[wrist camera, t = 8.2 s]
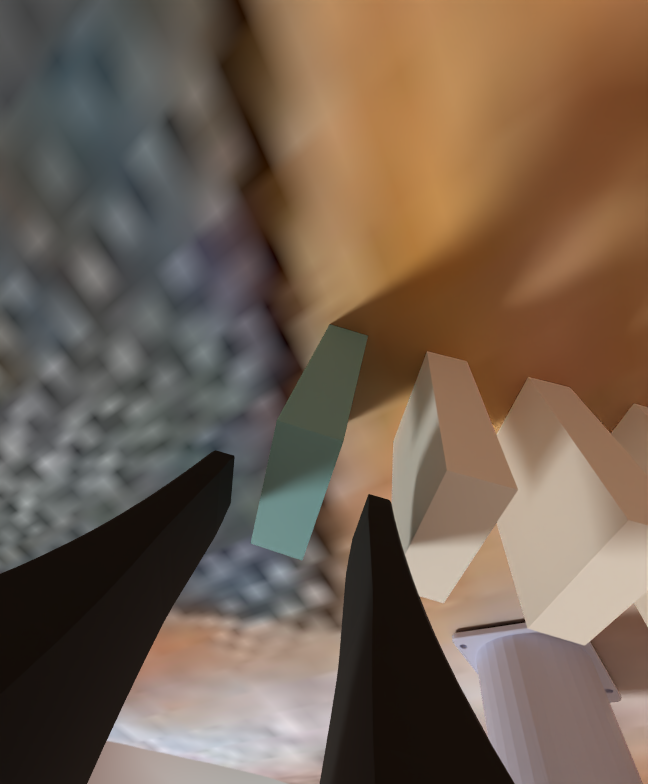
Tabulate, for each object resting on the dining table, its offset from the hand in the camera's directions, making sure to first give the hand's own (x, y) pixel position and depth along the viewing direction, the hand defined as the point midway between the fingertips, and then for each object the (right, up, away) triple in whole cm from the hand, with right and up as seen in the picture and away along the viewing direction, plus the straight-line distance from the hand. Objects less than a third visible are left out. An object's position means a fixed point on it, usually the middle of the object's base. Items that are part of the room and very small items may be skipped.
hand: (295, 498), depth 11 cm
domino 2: (+6, +3, +6) cm, 9 cm away
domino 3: (+10, +1, +6) cm, 12 cm away
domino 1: (+1, +4, +7) cm, 8 cm away
